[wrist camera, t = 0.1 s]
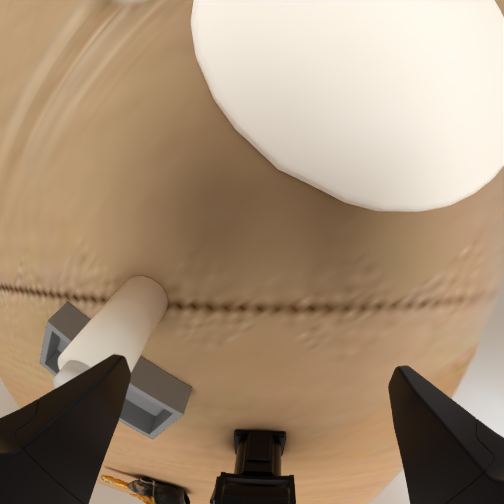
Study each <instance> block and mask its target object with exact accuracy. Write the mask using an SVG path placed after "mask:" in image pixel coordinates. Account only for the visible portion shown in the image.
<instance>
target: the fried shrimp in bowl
mask: <svg viewBox="0 0 504 504" xmlns="http://www.w3.org/2000/svg"><path fill="white" fill-rule="evenodd" d="M101 478H102V480H104V481H105V482H109V483H111V484H114V485H117V486H120V487H123V488H126V489H130V490H131V491H133V492H135V493H136V494H137V495H134V494H130V495H132V496H135V497H138V498H139V499H140V500H142V501H143V502H144V503H146V504H190V500H189V498H188V496H187V494H186V492H185V490H184V491H181V490H178V489H177V488H175V487H172V486H169V485H161V484H159V483H157V482H155V481H154V480H152V479H149V478H140V480H135V481H132V482H130V483H126V482H124V481H122V480H119V479H115V478H113V477H111V476H106V475H102V476H101Z"/></svg>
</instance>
